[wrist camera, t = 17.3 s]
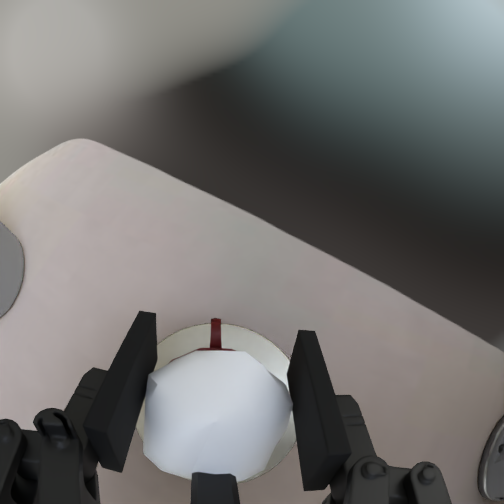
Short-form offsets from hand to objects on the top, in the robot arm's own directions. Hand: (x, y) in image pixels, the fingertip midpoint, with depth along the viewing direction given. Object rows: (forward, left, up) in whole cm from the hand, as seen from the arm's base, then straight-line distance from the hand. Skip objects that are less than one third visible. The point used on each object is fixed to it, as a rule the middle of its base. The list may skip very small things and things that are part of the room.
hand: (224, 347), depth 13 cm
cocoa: (+1, +3, -4) cm, 5 cm away
